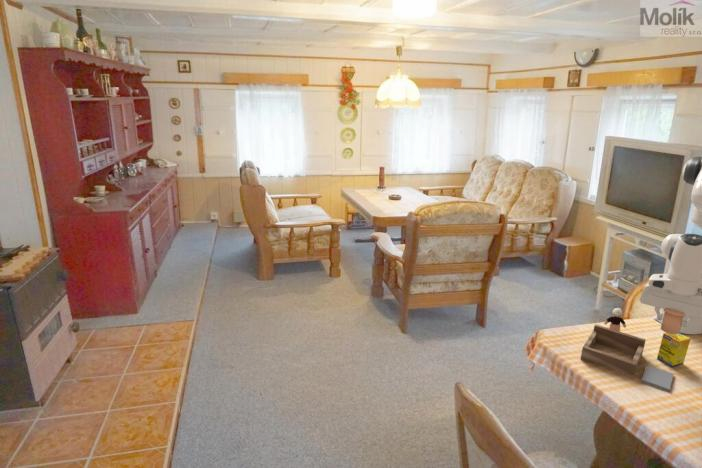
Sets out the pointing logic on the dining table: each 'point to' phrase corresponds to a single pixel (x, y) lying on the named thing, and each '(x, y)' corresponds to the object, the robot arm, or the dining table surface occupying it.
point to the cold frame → (614, 341)
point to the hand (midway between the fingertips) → (671, 322)
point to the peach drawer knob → (672, 321)
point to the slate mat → (657, 378)
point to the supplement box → (673, 349)
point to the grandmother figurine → (616, 320)
